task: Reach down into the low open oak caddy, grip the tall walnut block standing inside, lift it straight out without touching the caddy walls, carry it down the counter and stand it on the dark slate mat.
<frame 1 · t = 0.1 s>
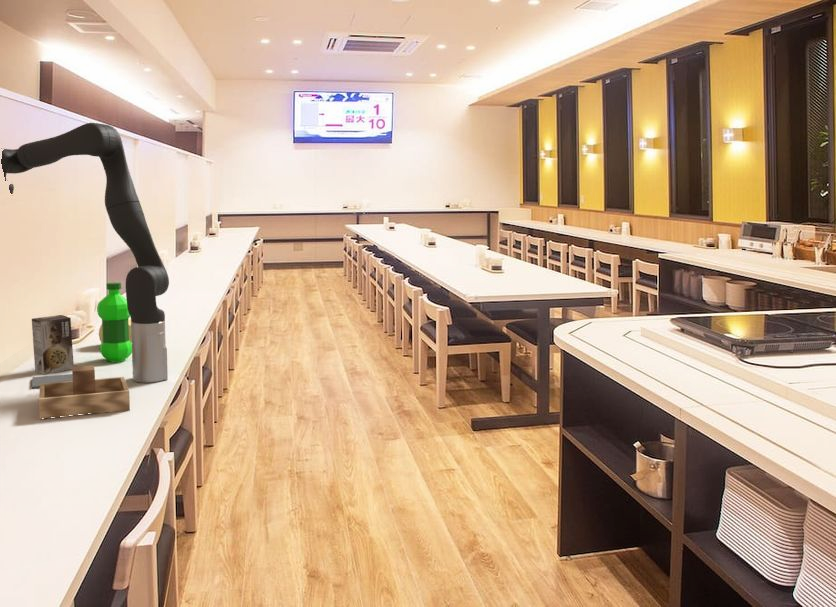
slate mat: (54, 382, 204), on the worktop
caddy: (84, 406, 182), on the worktop
walnut block: (85, 406, 182), resting in caddy
coffee box: (54, 370, 217), on the worktop
plastic bottle: (116, 360, 231), on the worktop
sculpture: (118, 346, 252), on the worktop
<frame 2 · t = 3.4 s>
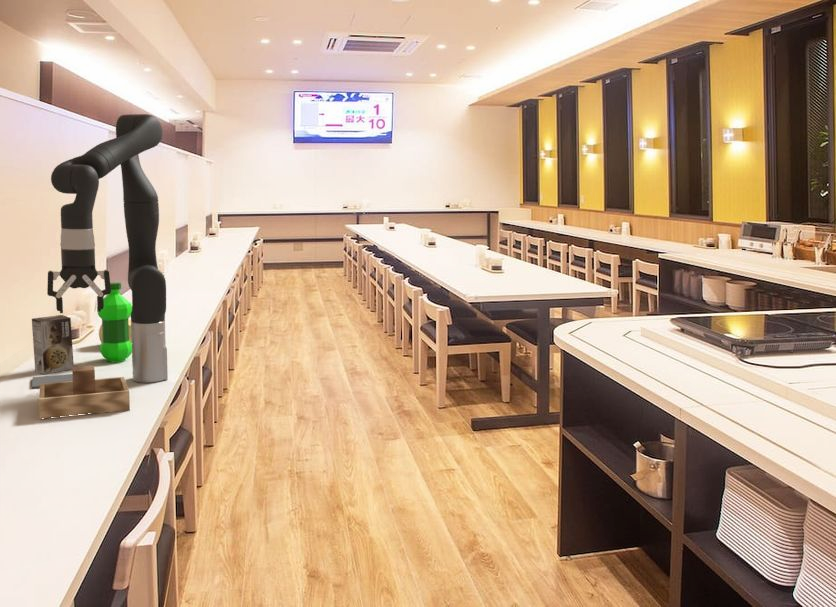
hand: (80, 312, 179), 24 cm above the worktop, tool pointing down, fingers open, 8 cm apart
nothing on the worktop moved.
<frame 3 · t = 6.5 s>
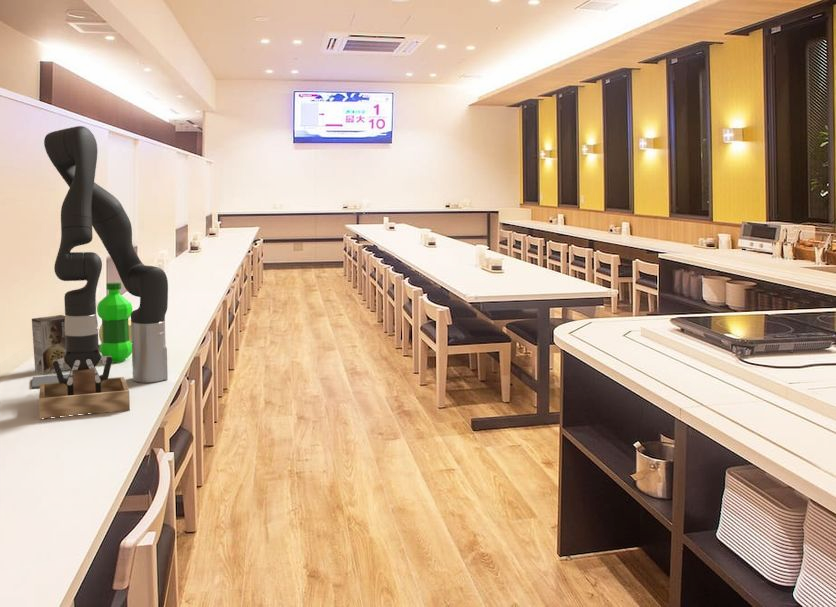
hand: (84, 397, 182), 2 cm above the worktop, tool pointing down, fingers closed on walnut block, 5 cm apart
walnut block: (85, 406, 182), resting in caddy, touching gripper
everything else where it was.
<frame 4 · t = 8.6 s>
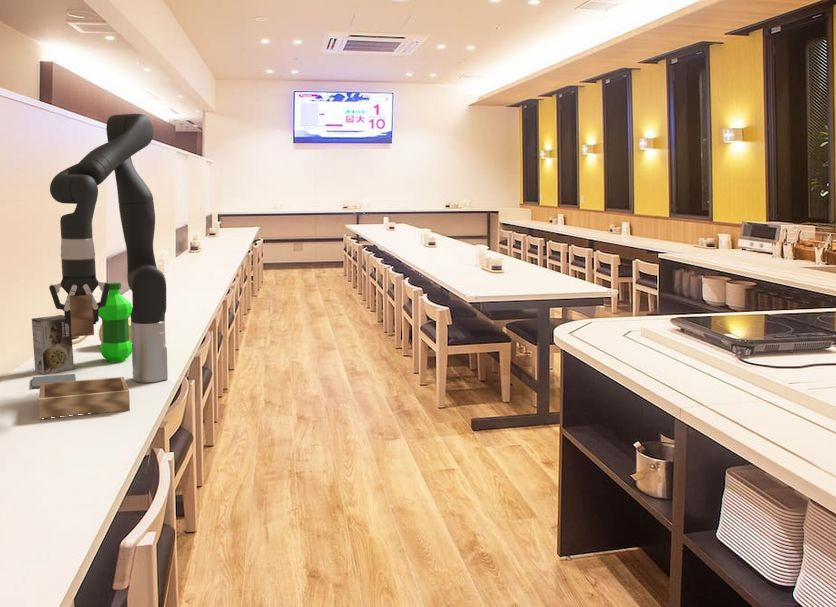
hand: (82, 324, 179), 21 cm above the worktop, tool pointing down, fingers closed on walnut block, 5 cm apart
walnut block: (82, 333, 180), point 19 cm above the worktop, touching gripper
everything else where it was.
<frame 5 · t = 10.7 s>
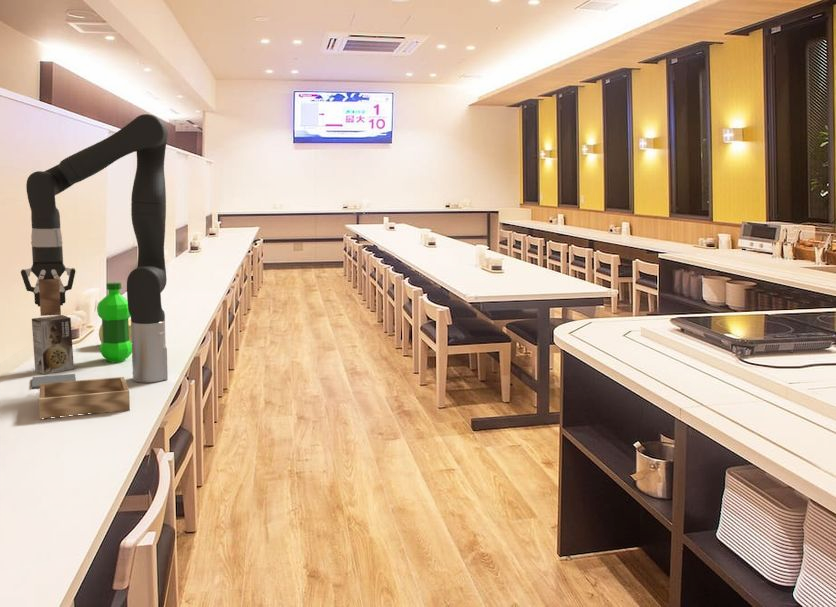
hand: (50, 305, 201), 22 cm above the worktop, tool pointing down, fingers closed on walnut block, 5 cm apart
walnut block: (50, 313, 201), point 20 cm above the worktop, touching gripper
everything else where it was.
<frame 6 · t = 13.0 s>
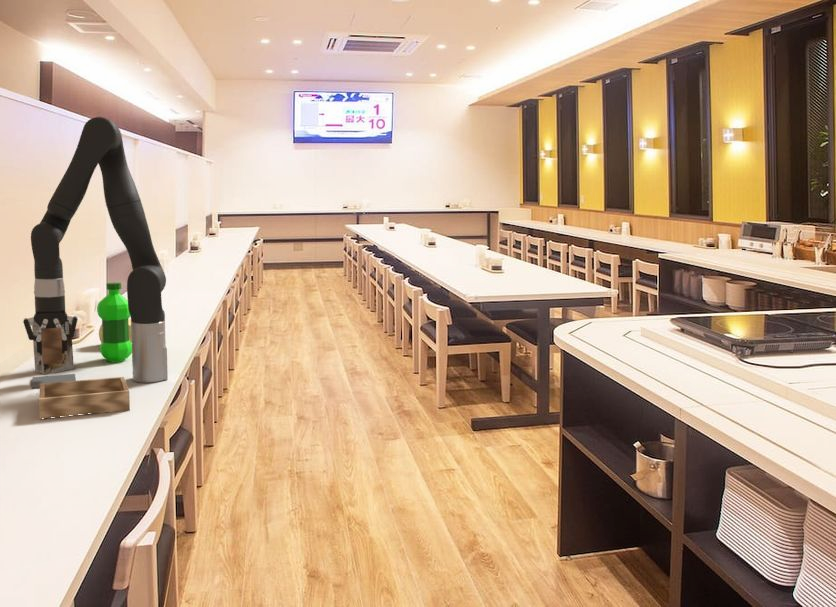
hand: (52, 353, 203), 8 cm above the worktop, tool pointing down, fingers closed on walnut block, 5 cm apart
walnut block: (52, 361, 203), point 6 cm above the worktop, touching gripper
everything else where it was.
when the fingers open (4 cm above the worktop, at t = 14.8 s): walnut block drops 1 cm, resting on slate mat.
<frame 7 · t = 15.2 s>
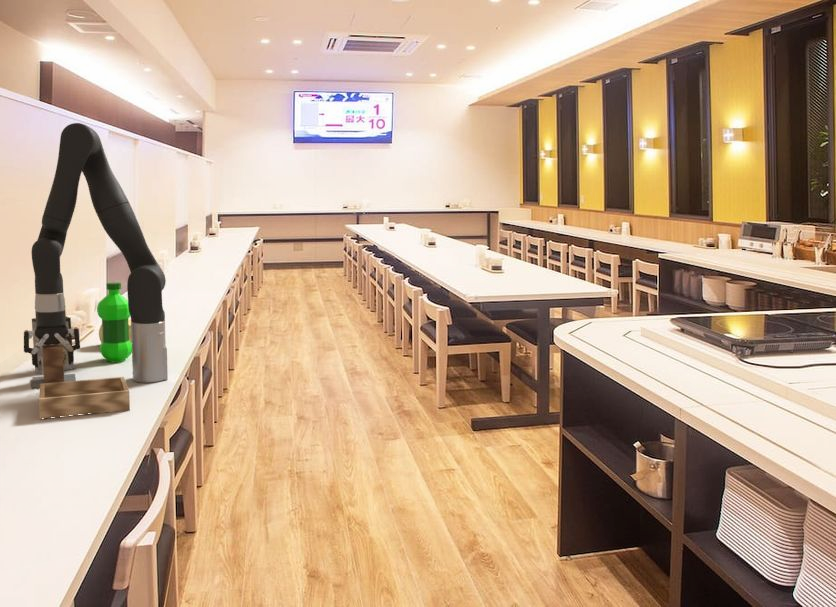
hand: (53, 365, 203), 5 cm above the worktop, tool pointing down, fingers open, 8 cm apart
walnut block: (54, 380, 204), point 1 cm above the worktop, touching slate mat
everything else where it was.
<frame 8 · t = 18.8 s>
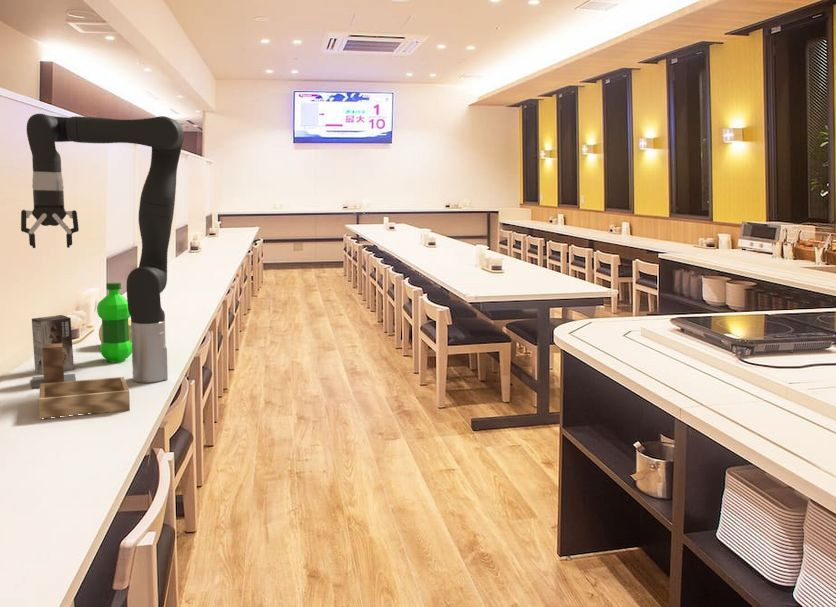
hand: (51, 247, 200), 38 cm above the worktop, tool pointing down, fingers open, 8 cm apart
nothing on the worktop moved.
at the end: walnut block inside the target area on the slate mat (0.0 cm from its centre), point 0.6 cm above the slate mat's base; walnut block tilted 0°; the gripper is holding nothing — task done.
